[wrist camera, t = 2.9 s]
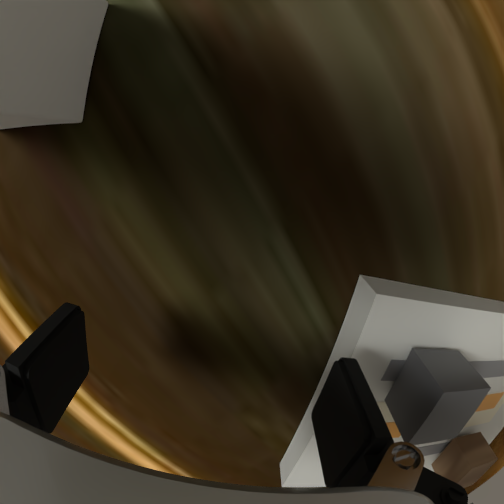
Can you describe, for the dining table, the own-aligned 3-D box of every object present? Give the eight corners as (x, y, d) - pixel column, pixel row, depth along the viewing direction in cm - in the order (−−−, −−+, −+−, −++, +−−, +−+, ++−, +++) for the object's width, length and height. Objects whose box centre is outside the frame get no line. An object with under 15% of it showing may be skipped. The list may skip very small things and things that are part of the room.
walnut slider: (454, 437, 14) (471, 468, 11) (480, 431, 14) (497, 458, 11) (431, 464, 15) (444, 494, 12) (458, 457, 15) (472, 484, 12)
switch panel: (359, 274, 13) (377, 294, 11) (550, 310, 14) (566, 322, 12) (279, 463, 17) (281, 487, 15) (467, 445, 18) (476, 460, 16)
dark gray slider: (412, 347, 11) (444, 392, 8) (458, 350, 11) (491, 387, 9) (384, 399, 12) (405, 446, 9) (430, 398, 12) (455, 437, 9)
